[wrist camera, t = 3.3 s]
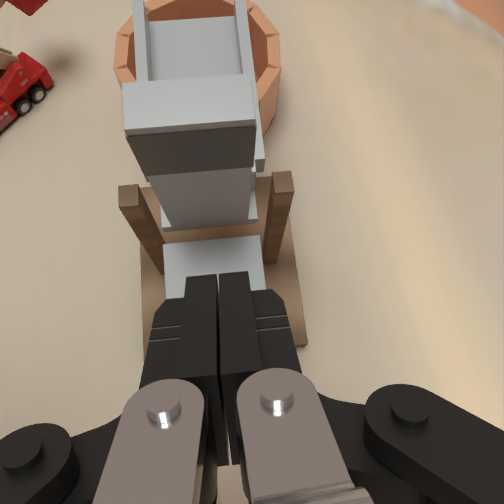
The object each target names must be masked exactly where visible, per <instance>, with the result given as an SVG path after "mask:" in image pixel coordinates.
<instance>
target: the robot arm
mask: <svg viewBox="0 0 504 504" xmlns="http://www.w3.org/2000/svg"><path fill="white" fill-rule="evenodd" d="M228 436H229V443H230V451H231V459H232V465H237V464H240V467H241V476H242V484H243V490H244V493H245V496H246V497H247V499H248V504H504V431H503V430H501V429H499V428H497V427H495V426H493V425H492V424H490V423H488V422H486V421H484V420H482V419H480V418H479V417H477V416H475V415H473V414H471V413H469V412H467V411H466V410H464V409H462V408H460V407H458V406H456V405H454V404H453V403H451V402H449V401H447V400H445V399H443V398H441V397H440V396H438V395H436V394H434V393H432V392H430V391H428V390H426V389H423V388H420V387H417V386H413V385H407V384H393V385H388V386H384V387H382V388H379V389H377V390H376V391H375V392H373V393H372V394H371V395H370V396H369V398H368V400H367V402H366V405H362V404H356V403H349V402H343V401H338V400H334V399H331V398H328V397H326V396H324V395H321V394H320V393H318V392H317V391H316V389H315V387H314V385H313V383H312V382H311V381H310V380H309V379H308V378H307V377H306V376H304V375H303V374H302V371H301V367H300V363H299V359H298V356H297V352H296V348H295V344H294V340H293V336H292V332H291V328H290V324H289V320H288V316H287V312H286V308H285V304H284V300H283V299H282V298H281V297H280V296H279V295H278V294H277V293H276V292H275V291H274V290H272V289H265V290H255V291H251V288H250V280H249V273H248V271H242V272H231V273H221V274H219V289H218V281H217V275H216V274H209V275H199V276H189V277H186V283H185V292H184V297H182V298H172V299H166V300H165V301H164V302H163V303H162V304H161V306H160V307H159V308H158V309H157V310H156V311H155V313H154V318H153V323H152V330H151V333H150V337H149V342H148V347H147V352H146V357H145V362H144V367H143V371H142V376H141V381H140V386H139V390H138V391H137V392H136V393H135V394H133V396H132V397H131V398H130V399H129V400H128V402H127V403H126V405H125V407H124V409H123V412H122V414H121V415H120V416H119V417H117V418H116V419H114V420H113V421H111V422H109V423H107V424H105V425H103V426H101V427H98V428H95V429H93V430H90V431H87V432H85V433H82V434H79V435H76V436H74V437H71V438H70V436H69V434H68V432H67V431H66V430H65V429H64V428H62V427H60V426H58V425H55V424H49V423H41V424H34V425H30V426H26V427H23V428H21V429H18V430H16V431H14V432H12V433H10V434H8V435H7V436H5V437H4V438H2V439H1V440H0V504H220V499H219V493H218V486H217V466H226V465H229V453H228Z"/></svg>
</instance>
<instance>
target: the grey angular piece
mask: <svg viewBox="0 0 504 504" xmlns="http://www.w3.org/2000/svg"><path fill="white" fill-rule="evenodd" d="M132 7H133V26H134V45H135V63H136V82H130V83H122V94H123V116H124V130H125V133H126V139H127V141H128V143H129V145H130V147H131V149H132V151H133V153H134V155H135V157H136V159H137V161H138V163H139V165H140V167H141V170H142V172H143V174H144V176H145V178H146V180H147V182H150V184H151V186H152V188H153V190H154V192H155V194H156V196H157V198H158V200H159V202H160V208H161V223H162V229H163V231H164V232H169V231H180V230H191V229H201V228H212V227H223V226H233V225H244V224H255V223H257V220H258V217H257V209H256V200H255V191H254V189H255V178H256V172H263V171H264V164H265V153H264V145H263V137H262V129H261V121H260V113H259V105H258V97H257V89H256V81H255V73H254V65H253V57H252V49H251V41H250V33H249V25H248V16H247V8H246V0H234V16H226V17H211V18H196V19H182V20H167V21H152V22H149V21H148V17H147V13H146V9H145V5H144V1H143V0H140V1H132ZM163 255H164V271H165V287H166V299H172V298H182V297H184V292H185V283H186V277H189V276H199V275H209V274H216V275H217V281H218V289H219V274H221V273H231V272H242V271H248V273H249V280H250V288H251V291H255V290H265V289H266V286H265V277H264V269H263V260H262V252H261V243H260V235H256V236H245V237H235V238H224V239H214V240H203V241H193V242H182V243H172V244H163Z"/></svg>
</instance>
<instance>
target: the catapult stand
mask: <svg viewBox="0 0 504 504" xmlns="http://www.w3.org/2000/svg"><path fill="white" fill-rule="evenodd" d="M254 191H255V200H256V209H257V217H258V220H257V223H255V224H244V225H233V226H223V227H212V228H201V229H191V230H180V231H169V232H164V231H163V229H162V223H161V208H160V202H159V200H158V198H157V196H156V194H155V192H154V190H153V188H152V187H145V188H139V185H138V184H134V185H123V186H118V194H119V208H120V210H121V212H122V213H123V215H124V216H125V218H126V220H127V221H128V223H129V224H130V226H131V228H132V229H133V231H134V232H135V234H136V236H137V237H138V239H139V241H140V255H141V286H142V317H143V348H144V362H145V357H146V352H147V347H148V342H149V337H150V333H151V330H152V323H153V318H154V313H155V311H156V310H157V309H158V308H159V307H160V306H161V304H162V303H163V302H164V301H165V300H166V287H165V271H164V255H163V244H172V243H182V242H193V241H203V240H214V239H224V238H235V237H245V236H256V235H260V243H261V252H262V260H263V269H264V277H265V286H266V289H272V290H274V291H275V292H276V293H277V294H278V295H279V296H280V297H281V298H282V299H283V300H284V304H285V308H286V312H287V316H288V320H289V324H290V328H291V332H292V336H293V340H294V344H295V347H302V346H306V345H307V344H308V342H307V335H306V329H305V322H304V315H303V308H302V302H301V295H300V288H299V281H298V275H297V268H296V261H295V254H294V248H293V241H292V234H291V227H290V221H289V211H290V207H291V202H292V198H293V194H294V186H293V180H292V174H291V171H283V172H272V176H269V177H258V178H255V189H254Z"/></svg>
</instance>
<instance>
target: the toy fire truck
mask: <svg viewBox="0 0 504 504" xmlns="http://www.w3.org/2000/svg"><path fill="white" fill-rule="evenodd" d="M5 1H8V2H9V3H11V4H12V5H14V6H15V7H16V8H18V9H20V10H21V11H22V12H24V13H25V14H27V15H28V16H31V15H33V14H34V13H35V12H36V11H37V10H38V9H39V8H40V7H42V6H43V4H45V3H46V2H47V1H48V0H0V8H1V7H2V6H3V4H4V3H5ZM52 84H53V80H52V79H51V77H50V75H49V73H48V72H47V69H46V68H45V67H44V66H42V65H41V64H40V63H38V62H37V61H35V60H34V59H33V58H31V57H30V56H28V55H27V54H26V53H24V52H21V53H20V54H19V55H17V56H14V55H12V52H11V51H9V50H6V49H3V48H0V132H1V131H2V130H3V129H4V128H5V127H6V126H7V125H8V124H9V123H11V122H12V120H14V119H15V118H16V117H17V114H18V113H20V114H26V113H28V112H29V111H30V109H31V103H30V101H29V99H30V98H31V99H32V100H34V101H35V102H40V101H42V100H43V99H44V97H45V90H44V89H43V88H42V87H44V88H46V89H48V88H49V87H50V86H52Z"/></svg>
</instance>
